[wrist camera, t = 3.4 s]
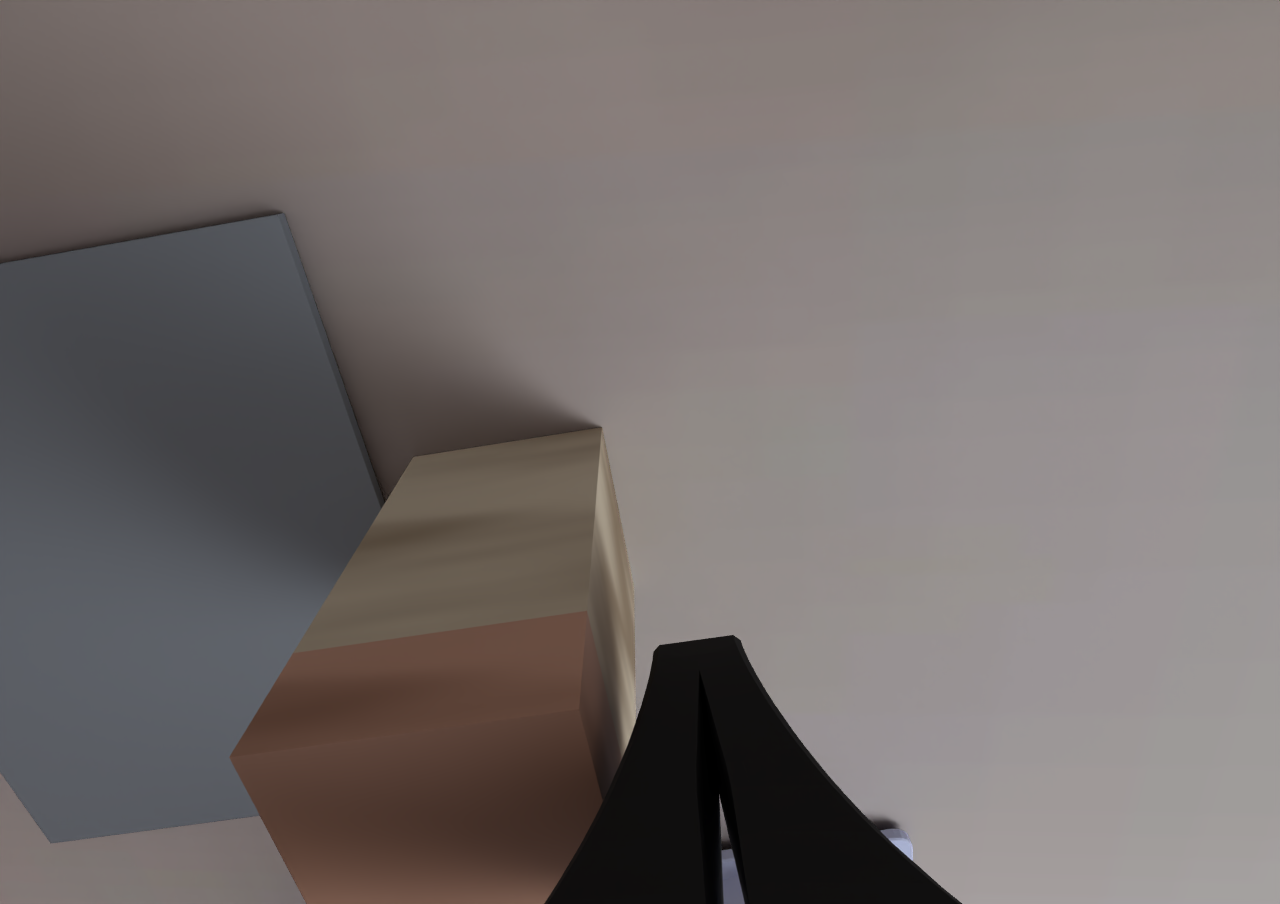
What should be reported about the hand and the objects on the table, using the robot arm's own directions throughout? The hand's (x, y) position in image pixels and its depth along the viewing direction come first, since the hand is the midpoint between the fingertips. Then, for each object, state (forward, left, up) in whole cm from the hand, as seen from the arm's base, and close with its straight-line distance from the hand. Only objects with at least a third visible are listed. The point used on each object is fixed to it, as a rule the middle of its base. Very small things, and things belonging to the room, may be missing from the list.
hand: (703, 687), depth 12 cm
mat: (0, +13, -6) cm, 15 cm away
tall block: (0, +4, -6) cm, 7 cm away
